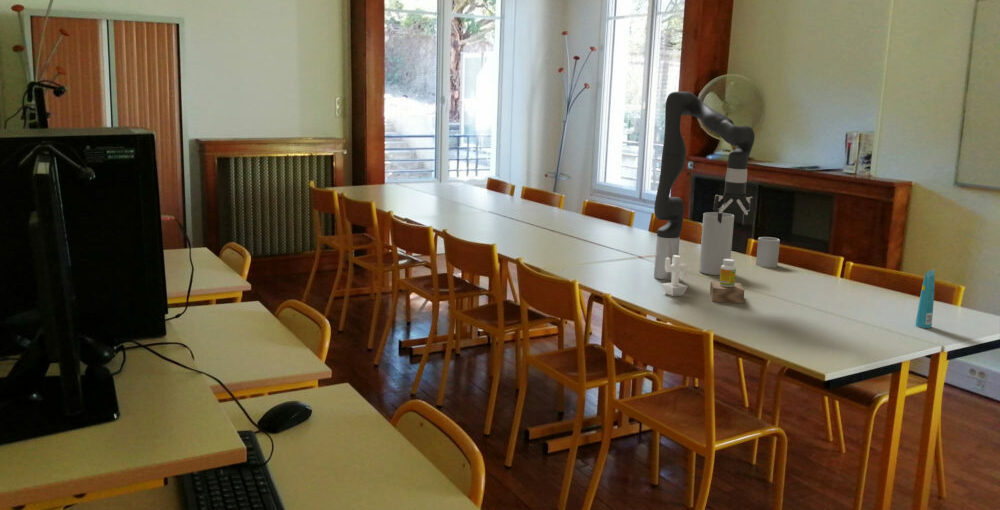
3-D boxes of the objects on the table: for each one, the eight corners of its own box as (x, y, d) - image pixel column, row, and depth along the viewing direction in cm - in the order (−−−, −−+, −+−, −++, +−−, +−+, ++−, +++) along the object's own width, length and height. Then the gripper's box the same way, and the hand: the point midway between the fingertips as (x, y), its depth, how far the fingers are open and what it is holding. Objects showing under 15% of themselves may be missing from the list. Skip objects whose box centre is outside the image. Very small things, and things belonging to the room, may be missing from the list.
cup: (755, 266, 368) (757, 239, 366) (756, 262, 377) (759, 236, 374) (776, 268, 365) (779, 241, 363) (777, 264, 373) (780, 238, 371)
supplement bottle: (731, 288, 305) (734, 261, 303) (717, 285, 308) (719, 260, 306) (736, 285, 309) (738, 259, 307) (721, 283, 312) (724, 257, 310)
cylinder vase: (726, 270, 359) (731, 212, 354) (731, 276, 346) (736, 217, 341) (697, 268, 360) (701, 211, 355) (701, 275, 348) (705, 216, 343)
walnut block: (712, 301, 305) (713, 288, 304) (709, 294, 316) (710, 281, 315) (743, 303, 303) (744, 290, 302) (739, 296, 314) (740, 283, 313)
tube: (918, 322, 284) (925, 267, 280) (933, 325, 281) (941, 270, 277) (912, 327, 278) (919, 271, 274) (928, 330, 275) (935, 273, 271)
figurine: (690, 295, 313) (692, 256, 310) (669, 297, 309) (672, 258, 306) (678, 291, 319) (680, 252, 316) (658, 293, 315) (660, 254, 312)
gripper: (717, 180, 304) (713, 224, 307) (757, 182, 301) (752, 226, 305) (715, 178, 311) (711, 220, 314) (754, 180, 309) (750, 223, 312)
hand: (731, 223), depth 310 cm, fingers open, 8 cm apart
